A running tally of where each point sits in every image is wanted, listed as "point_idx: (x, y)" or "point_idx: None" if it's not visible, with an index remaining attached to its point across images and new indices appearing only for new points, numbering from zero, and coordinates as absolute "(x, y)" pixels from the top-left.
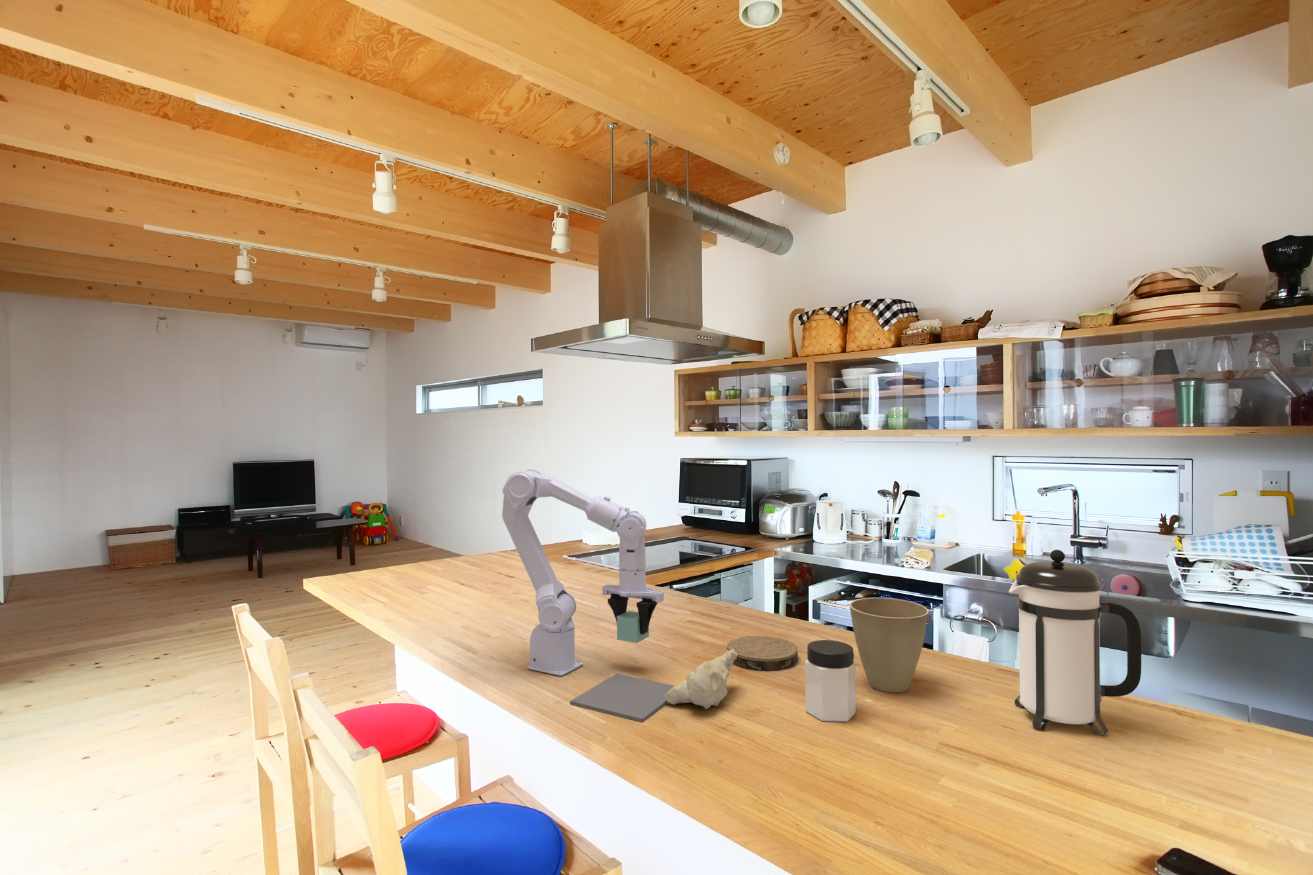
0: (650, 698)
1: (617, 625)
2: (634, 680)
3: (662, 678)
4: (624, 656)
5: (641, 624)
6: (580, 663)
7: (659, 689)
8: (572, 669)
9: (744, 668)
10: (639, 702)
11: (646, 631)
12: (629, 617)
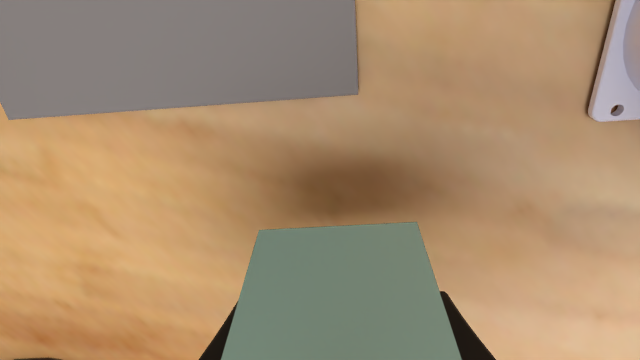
0: None
1: (434, 293)
2: (229, 68)
3: (181, 175)
4: (457, 277)
5: (215, 351)
6: (603, 104)
7: (62, 43)
8: (613, 20)
9: (49, 358)
10: None
11: None
12: None
